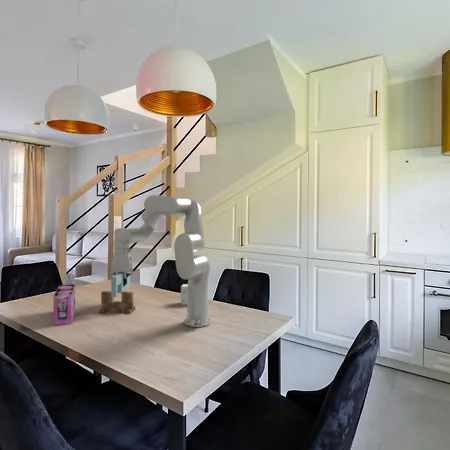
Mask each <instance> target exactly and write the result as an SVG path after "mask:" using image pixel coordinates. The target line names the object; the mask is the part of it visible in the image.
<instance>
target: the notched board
mask: <svg viewBox="0 0 450 450" xmlns="http://www.w3.org/2000/svg"><path fill="white" fill-rule="evenodd" d="M128 273H130V272H128ZM123 279H124V273H118V274H116V275H112V276H111V278H110V281H111V284H110V285H111V286H110V287H111V288H110V291H111V297H114V298H117V297H118V294H122V292H126V291H127V290H128V289H129V288H130V287H131V275H129V276H128V277H127V284H126V285H125V286H123Z"/></svg>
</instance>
